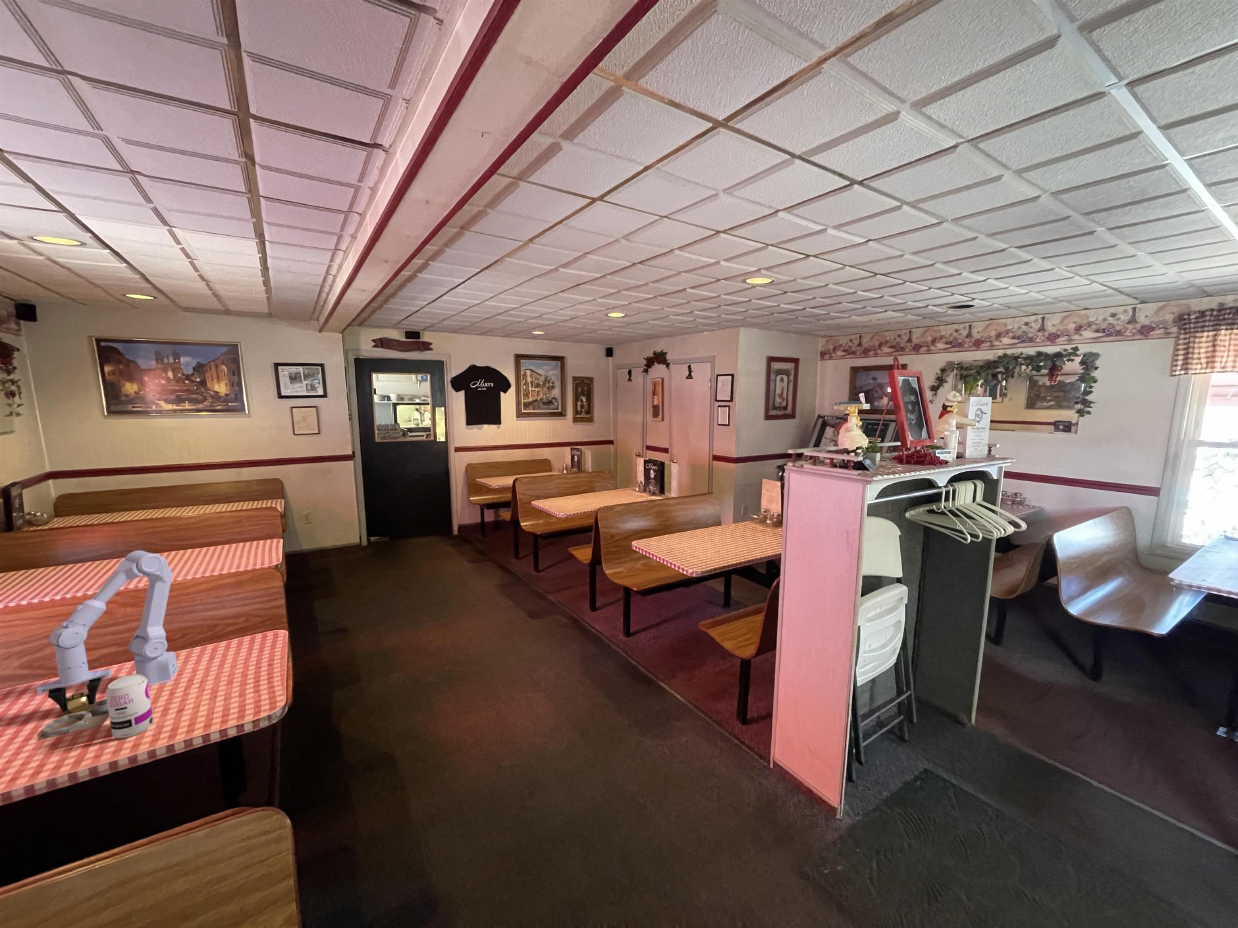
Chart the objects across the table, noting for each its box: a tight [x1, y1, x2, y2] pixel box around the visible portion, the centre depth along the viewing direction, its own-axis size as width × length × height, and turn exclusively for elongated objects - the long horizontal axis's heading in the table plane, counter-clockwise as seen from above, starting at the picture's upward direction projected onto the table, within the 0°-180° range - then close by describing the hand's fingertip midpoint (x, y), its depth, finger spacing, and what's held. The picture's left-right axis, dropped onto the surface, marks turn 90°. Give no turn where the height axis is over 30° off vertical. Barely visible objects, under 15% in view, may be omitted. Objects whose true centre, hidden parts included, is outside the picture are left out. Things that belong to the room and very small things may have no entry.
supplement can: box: [105, 673, 154, 739], centre depth 133 cm, size 8×8×15 cm
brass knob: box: [65, 690, 92, 714], centre depth 141 cm, size 5×5×5 cm
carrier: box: [35, 698, 110, 742], centre depth 139 cm, size 13×16×4 cm
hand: (79, 706), depth 142 cm, fingers closed on brass knob, 5 cm apart
